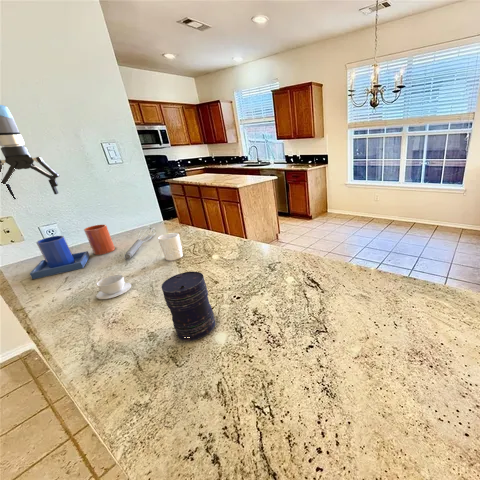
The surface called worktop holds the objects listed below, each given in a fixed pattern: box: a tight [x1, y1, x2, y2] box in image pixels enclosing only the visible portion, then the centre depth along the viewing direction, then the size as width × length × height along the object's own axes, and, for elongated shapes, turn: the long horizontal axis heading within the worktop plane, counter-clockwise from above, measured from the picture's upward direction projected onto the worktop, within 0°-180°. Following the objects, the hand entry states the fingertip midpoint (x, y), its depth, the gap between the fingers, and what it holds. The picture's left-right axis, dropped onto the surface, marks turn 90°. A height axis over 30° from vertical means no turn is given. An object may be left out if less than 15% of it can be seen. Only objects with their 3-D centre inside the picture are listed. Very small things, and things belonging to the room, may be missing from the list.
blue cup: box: [36, 235, 75, 268], centre depth 109 cm, size 8×8×12 cm
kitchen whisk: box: [123, 224, 157, 260], centre depth 127 cm, size 6×34×6 cm, turn 14°
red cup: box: [83, 223, 116, 256], centre depth 122 cm, size 8×8×12 cm
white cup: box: [157, 232, 184, 261], centre depth 113 cm, size 8×8×10 cm
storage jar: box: [160, 271, 216, 342], centre depth 68 cm, size 10×10×18 cm
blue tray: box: [29, 250, 90, 280], centre depth 111 cm, size 16×14×3 cm
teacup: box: [95, 274, 132, 300], centre depth 90 cm, size 10×10×5 cm
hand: (36, 196), depth 118 cm, fingers open, 13 cm apart
